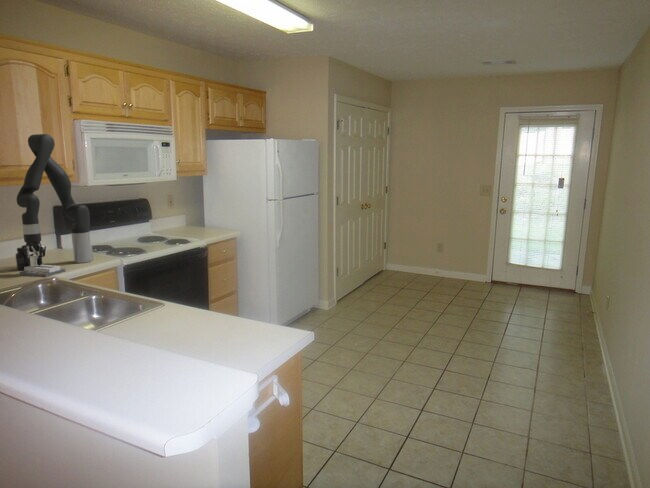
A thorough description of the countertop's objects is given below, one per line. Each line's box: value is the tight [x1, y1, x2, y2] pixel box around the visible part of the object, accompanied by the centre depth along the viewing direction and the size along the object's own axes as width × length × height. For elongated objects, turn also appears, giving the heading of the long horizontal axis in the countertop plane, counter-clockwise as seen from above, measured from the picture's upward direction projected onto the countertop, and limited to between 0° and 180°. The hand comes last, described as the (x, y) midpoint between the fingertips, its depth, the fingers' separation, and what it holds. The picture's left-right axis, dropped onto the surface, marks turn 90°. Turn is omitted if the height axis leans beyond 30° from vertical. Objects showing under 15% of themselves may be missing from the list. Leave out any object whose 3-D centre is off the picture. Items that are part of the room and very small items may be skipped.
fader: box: [30, 254, 41, 267], centre depth 234 cm, size 4×4×8 cm
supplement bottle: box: [15, 246, 31, 271], centre depth 243 cm, size 7×7×12 cm
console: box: [19, 264, 66, 278], centre depth 234 cm, size 12×17×4 cm
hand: (36, 264), depth 234 cm, fingers open, 4 cm apart
